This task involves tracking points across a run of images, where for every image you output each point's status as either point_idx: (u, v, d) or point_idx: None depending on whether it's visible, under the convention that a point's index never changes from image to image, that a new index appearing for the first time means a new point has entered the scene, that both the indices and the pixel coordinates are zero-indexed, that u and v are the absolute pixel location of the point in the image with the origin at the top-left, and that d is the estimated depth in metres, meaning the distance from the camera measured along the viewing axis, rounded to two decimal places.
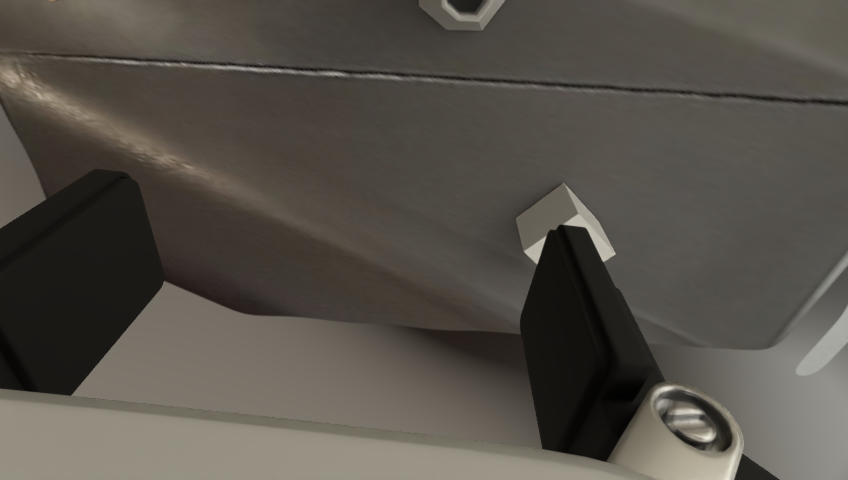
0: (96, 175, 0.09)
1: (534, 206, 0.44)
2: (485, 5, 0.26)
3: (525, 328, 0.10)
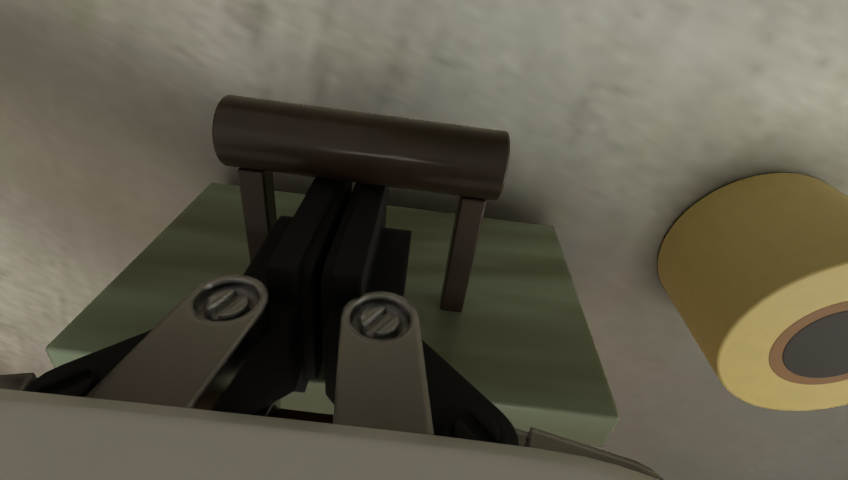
0: None
1: None
2: None
3: None
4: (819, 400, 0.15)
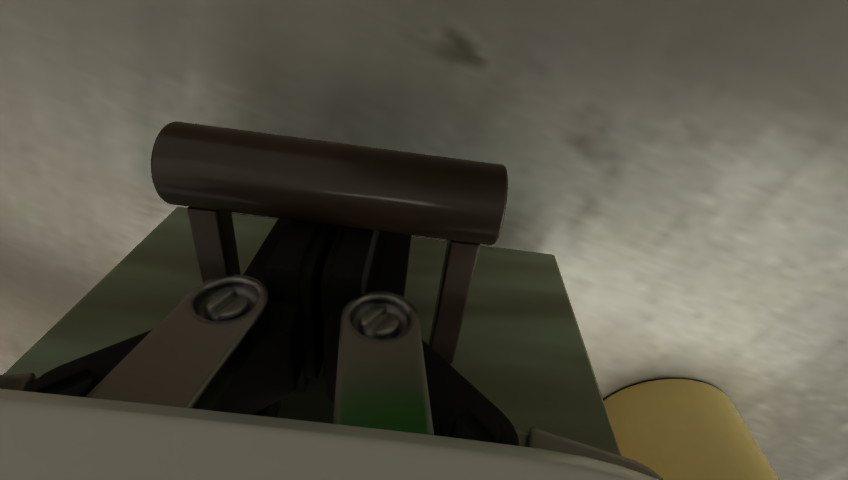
0: None
1: None
2: None
3: None
4: None
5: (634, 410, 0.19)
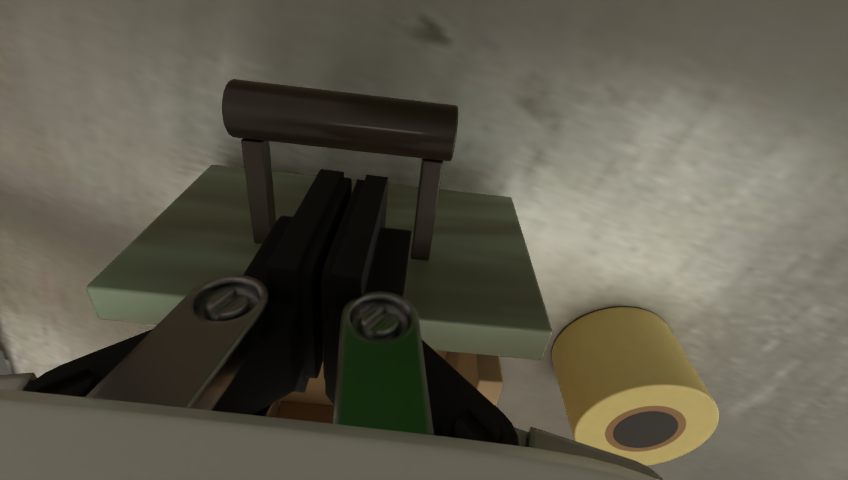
0: (327, 174, 0.10)
1: None
2: None
3: None
4: (646, 460, 0.22)
5: (587, 332, 0.23)
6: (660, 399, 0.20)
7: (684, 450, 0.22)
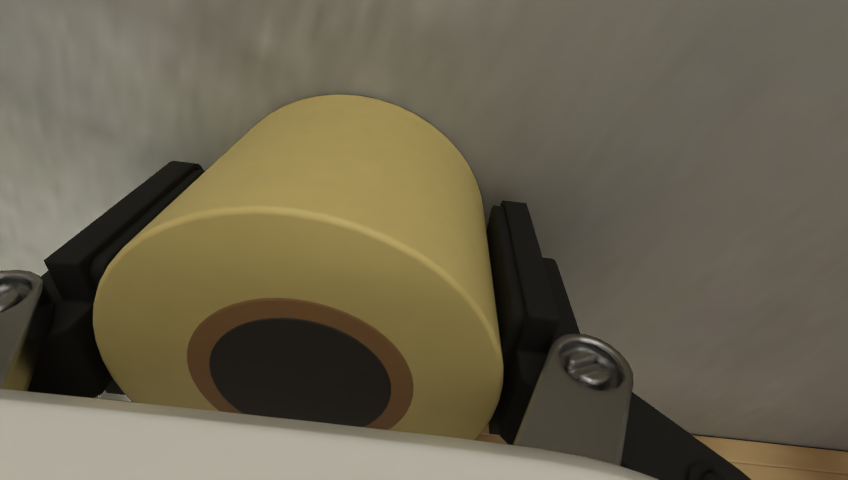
0: (175, 166, 0.09)
1: None
2: None
3: None
4: (465, 355, 0.07)
5: None
6: (164, 375, 0.07)
7: (395, 271, 0.06)
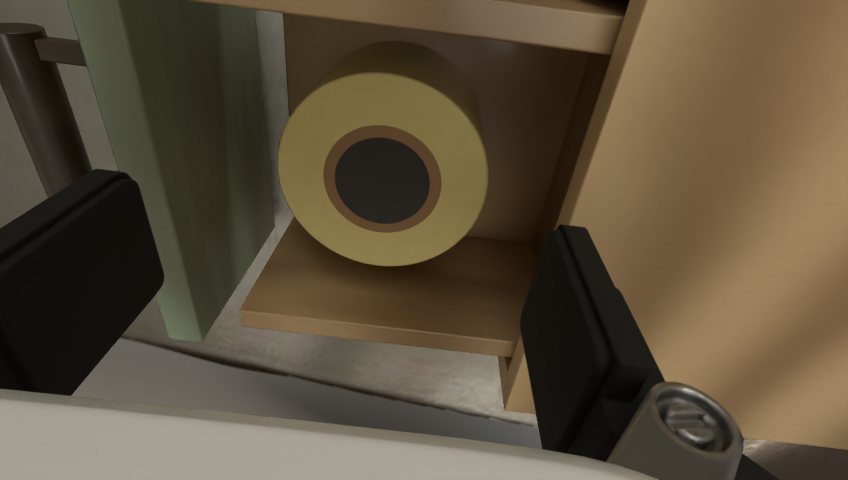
0: (96, 175, 0.09)
1: None
2: None
3: (525, 328, 0.10)
4: (468, 160, 0.13)
5: None
6: (309, 180, 0.14)
7: (436, 107, 0.12)
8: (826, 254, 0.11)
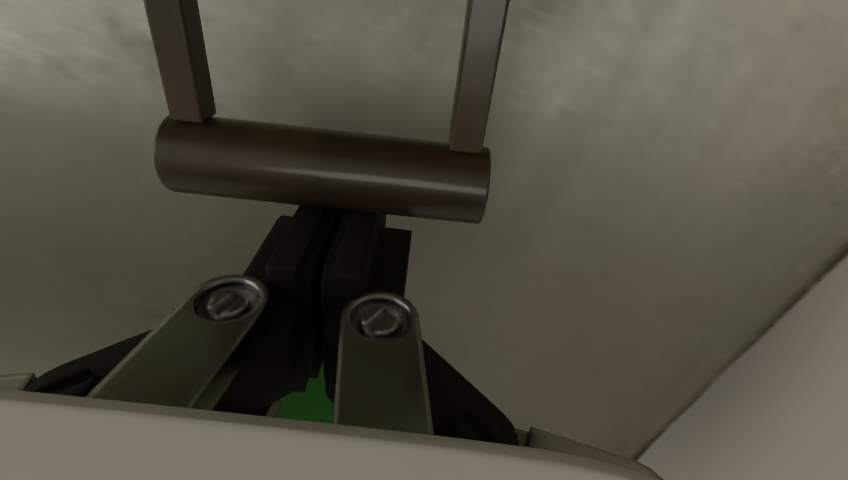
0: None
1: None
2: None
3: None
4: None
5: None
6: None
7: None
8: None
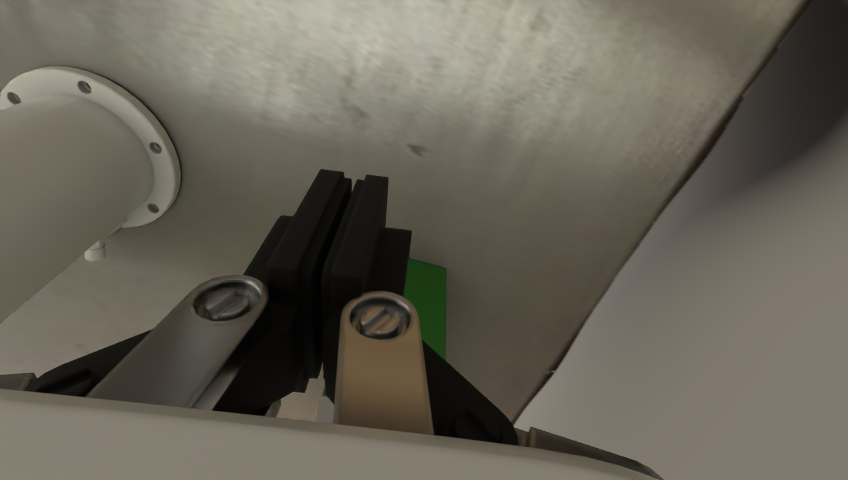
0: (327, 174, 0.10)
1: None
2: None
3: None
4: None
5: None
6: None
7: None
8: None
